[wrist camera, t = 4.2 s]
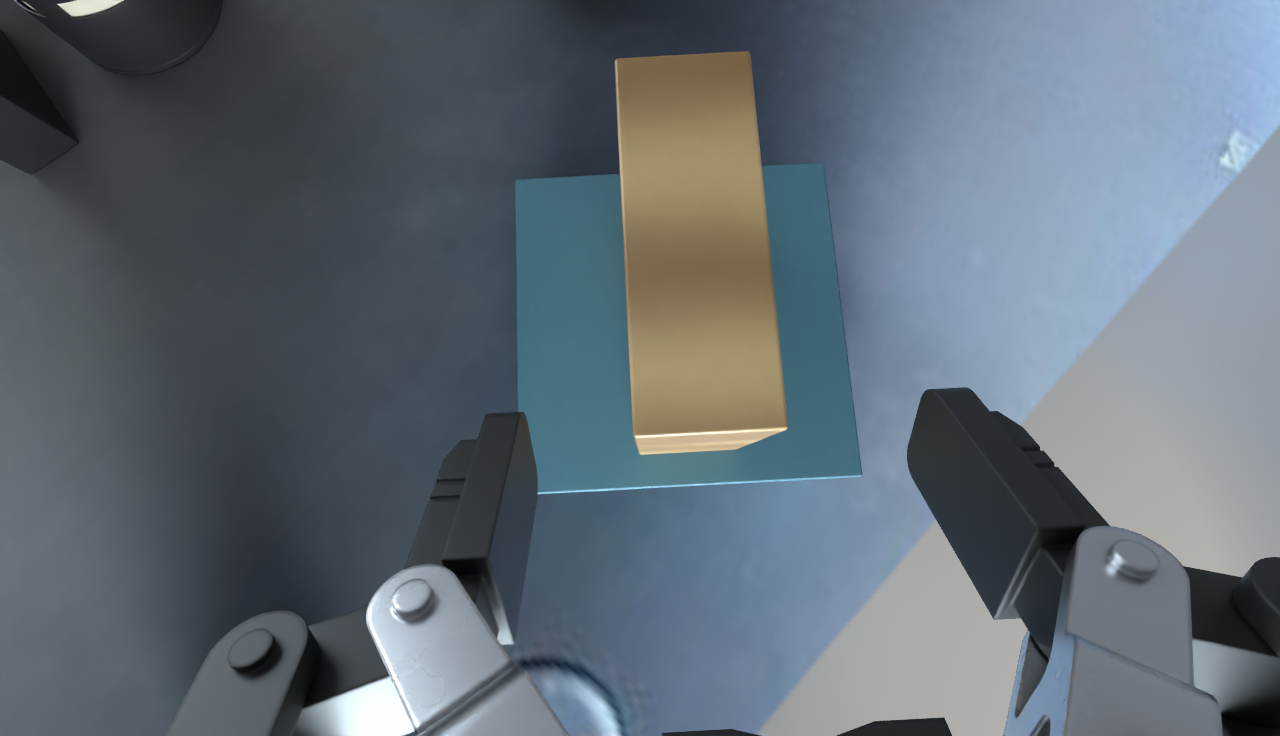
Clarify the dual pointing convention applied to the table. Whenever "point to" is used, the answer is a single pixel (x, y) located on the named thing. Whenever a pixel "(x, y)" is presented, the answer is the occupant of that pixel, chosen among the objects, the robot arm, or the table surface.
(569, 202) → the toy box
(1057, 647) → the robot arm
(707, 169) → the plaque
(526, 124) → the table surface
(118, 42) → the light fixture
